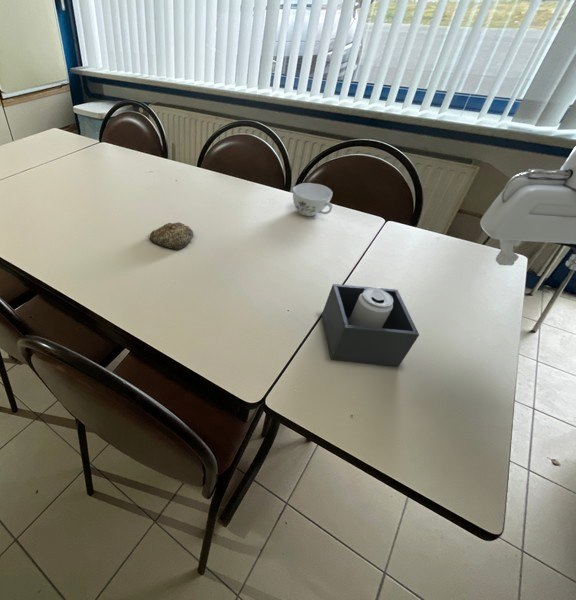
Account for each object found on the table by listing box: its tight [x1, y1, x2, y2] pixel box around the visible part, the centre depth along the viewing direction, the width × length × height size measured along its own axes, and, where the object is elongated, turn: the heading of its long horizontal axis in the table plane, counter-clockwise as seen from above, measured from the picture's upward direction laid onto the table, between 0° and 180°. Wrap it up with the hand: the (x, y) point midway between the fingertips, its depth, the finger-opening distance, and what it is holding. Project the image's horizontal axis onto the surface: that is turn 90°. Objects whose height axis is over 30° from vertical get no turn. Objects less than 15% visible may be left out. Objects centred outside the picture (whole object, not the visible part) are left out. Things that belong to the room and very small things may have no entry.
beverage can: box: [348, 287, 393, 328], centre depth 77 cm, size 6×6×12 cm
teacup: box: [292, 182, 333, 217], centre depth 122 cm, size 15×12×8 cm
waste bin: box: [320, 283, 420, 368], centre depth 78 cm, size 14×14×10 cm
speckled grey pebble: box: [149, 221, 194, 250], centre depth 112 cm, size 13×12×5 cm
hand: (537, 265), depth 53 cm, fingers open, 8 cm apart
